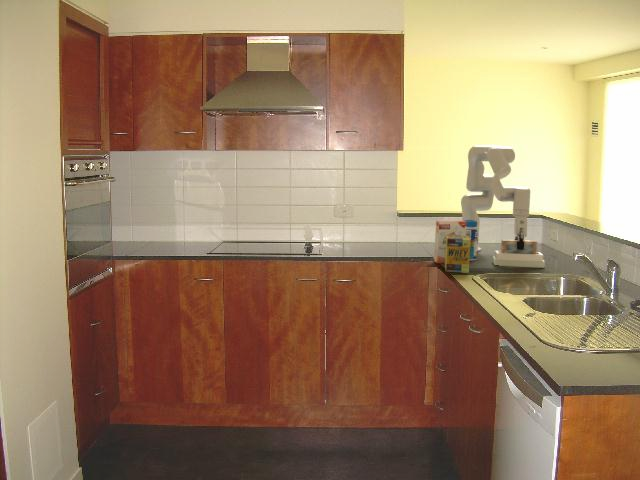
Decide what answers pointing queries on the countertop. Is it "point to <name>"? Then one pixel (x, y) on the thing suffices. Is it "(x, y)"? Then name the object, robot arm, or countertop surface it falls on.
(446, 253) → the protein box
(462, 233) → the cracker box
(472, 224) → the beverage bottle
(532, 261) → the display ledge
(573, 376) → the countertop surface
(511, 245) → the picture frame
